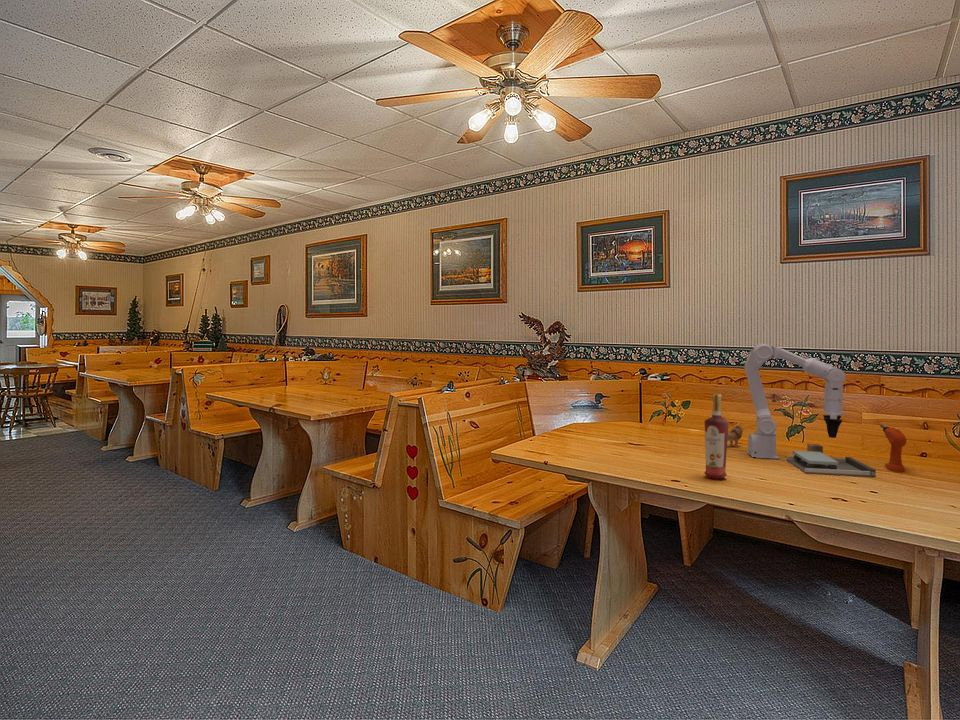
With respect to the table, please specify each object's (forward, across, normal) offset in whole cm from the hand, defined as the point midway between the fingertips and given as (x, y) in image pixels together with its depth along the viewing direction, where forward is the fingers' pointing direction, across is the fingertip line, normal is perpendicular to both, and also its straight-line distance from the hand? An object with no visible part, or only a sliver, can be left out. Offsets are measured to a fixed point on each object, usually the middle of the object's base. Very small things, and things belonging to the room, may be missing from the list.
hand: (831, 435), depth 196 cm
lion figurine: (+10, +9, +36) cm, 39 cm away
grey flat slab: (+10, -14, +5) cm, 18 cm away
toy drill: (+10, +2, -18) cm, 20 cm away
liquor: (+10, -46, +34) cm, 58 cm away
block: (+10, +4, +5) cm, 12 cm away
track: (+10, -12, +1) cm, 16 cm away
